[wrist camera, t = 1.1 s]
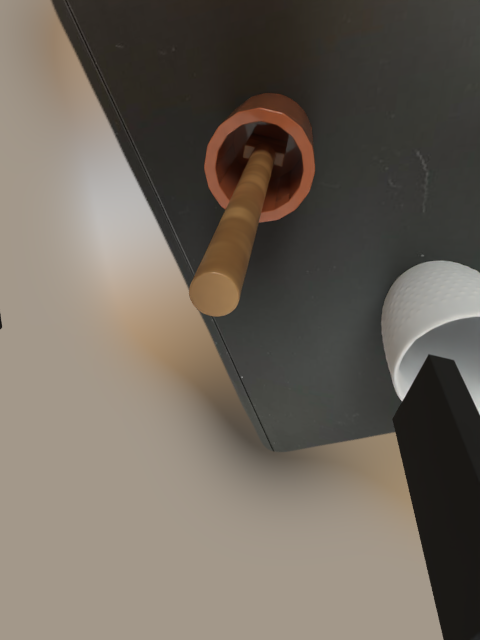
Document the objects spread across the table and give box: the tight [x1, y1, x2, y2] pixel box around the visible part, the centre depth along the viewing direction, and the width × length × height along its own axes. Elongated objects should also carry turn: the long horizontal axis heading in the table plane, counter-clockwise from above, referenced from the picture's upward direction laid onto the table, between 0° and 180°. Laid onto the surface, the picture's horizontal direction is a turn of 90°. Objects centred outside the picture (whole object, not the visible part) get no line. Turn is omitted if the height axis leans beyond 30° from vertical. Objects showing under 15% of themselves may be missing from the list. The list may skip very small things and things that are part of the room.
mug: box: [381, 260, 480, 414], centre depth 38 cm, size 15×11×13 cm
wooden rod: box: [189, 133, 287, 316], centre depth 27 cm, size 3×2×27 cm, turn 79°
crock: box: [204, 93, 315, 223], centre depth 34 cm, size 8×8×10 cm
